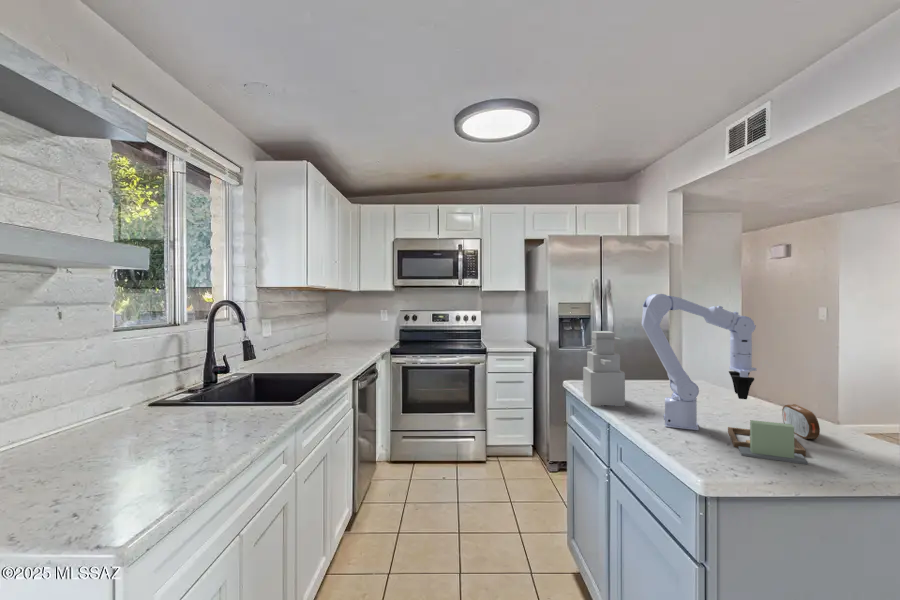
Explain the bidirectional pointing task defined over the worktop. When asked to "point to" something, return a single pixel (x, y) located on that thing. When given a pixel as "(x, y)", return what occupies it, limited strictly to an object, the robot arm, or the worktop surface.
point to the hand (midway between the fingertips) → (740, 396)
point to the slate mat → (797, 457)
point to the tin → (801, 421)
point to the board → (772, 438)
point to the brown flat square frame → (731, 431)
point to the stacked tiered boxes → (603, 372)
